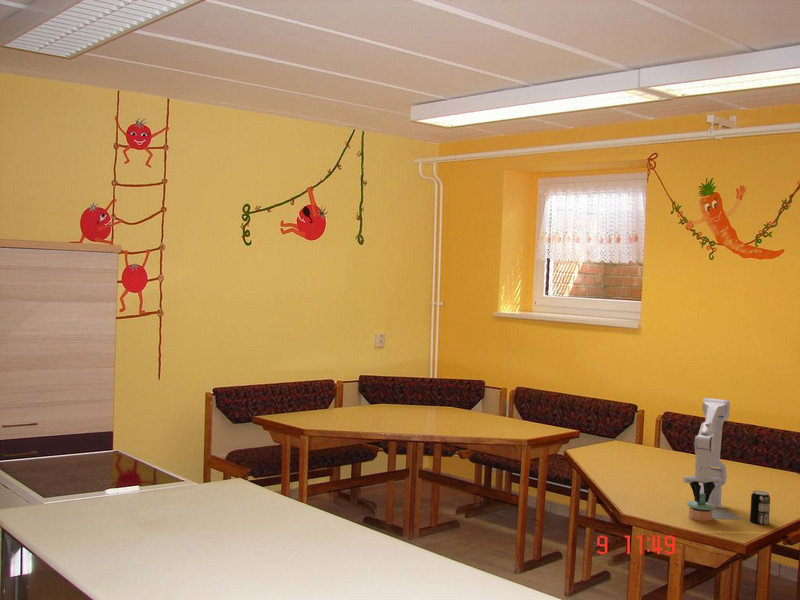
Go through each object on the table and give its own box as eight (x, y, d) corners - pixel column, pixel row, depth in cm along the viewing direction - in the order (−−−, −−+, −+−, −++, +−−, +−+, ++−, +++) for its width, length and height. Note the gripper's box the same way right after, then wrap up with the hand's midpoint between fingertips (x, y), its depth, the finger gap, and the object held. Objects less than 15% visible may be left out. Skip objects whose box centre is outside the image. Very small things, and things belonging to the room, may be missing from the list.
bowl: (686, 516, 317) (686, 505, 317) (705, 516, 318) (705, 506, 318) (695, 522, 309) (695, 511, 309) (714, 522, 310) (715, 511, 310)
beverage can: (752, 520, 315) (754, 489, 315) (770, 523, 311) (772, 492, 311) (747, 523, 310) (749, 492, 310) (765, 527, 306) (767, 495, 306)
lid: (683, 502, 318) (683, 490, 318) (708, 503, 318) (709, 491, 318) (693, 509, 308) (693, 496, 308) (719, 510, 308) (720, 497, 308)
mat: (697, 510, 326) (697, 508, 326) (725, 510, 327) (725, 509, 327) (712, 520, 313) (712, 518, 313) (742, 520, 314) (742, 518, 314)
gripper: (689, 468, 308) (687, 504, 309) (726, 469, 310) (724, 504, 310) (681, 464, 315) (679, 499, 316) (717, 464, 317) (715, 499, 317)
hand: (701, 501), depth 313 cm, fingers closed on lid, 3 cm apart
